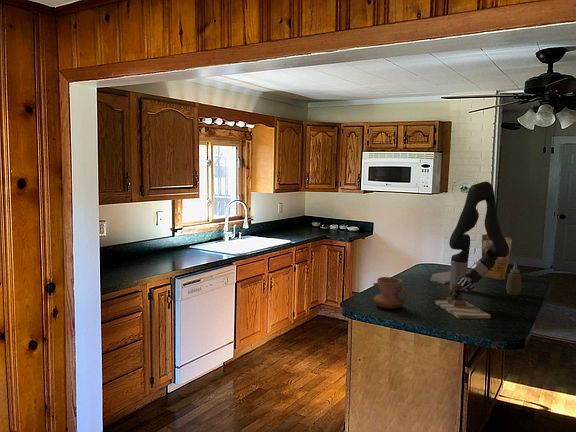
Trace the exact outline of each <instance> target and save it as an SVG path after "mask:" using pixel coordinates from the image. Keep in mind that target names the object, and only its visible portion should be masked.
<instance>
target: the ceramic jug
mask: <svg viewBox="0 0 576 432" xmlns="http://www.w3.org/2000/svg"><path fill="white" fill-rule="evenodd" d="M376 281H377V282H373V283H372V285H373V286H376V287H377V288H378V289H379V293H378V294H377V295H375V296H373V297H372V298H373V299H372V300H373V303H374V304H375V305H376V306H377V307H378V308H381V309H385V310H395V309H400V308H402V306H403V305H404V304H405V301H406V300H407V298H408V296H409V295H408V294H409V292H408V289H406V288H405V287H402V283H403V280H402V279H400V278H397V277H393V276H392V277H391V276H381V277H377V280H376ZM401 291H403V292H404V296H403V299H402V298H401V297H400V296H399V295H398V294H399V293H400V292H401Z"/></svg>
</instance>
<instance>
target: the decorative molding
mask: <svg viewBox="0 0 576 432" xmlns="http://www.w3.org/2000/svg"><path fill="white" fill-rule="evenodd" d="M450 272H451V270H449V271H444V272H443V271H442V272H437V273H432V274H431V277H430V281H431V282H436V283H439V284H442V285H445V284H450Z"/></svg>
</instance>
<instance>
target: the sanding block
mask: <svg viewBox="0 0 576 432" xmlns="http://www.w3.org/2000/svg"><path fill="white" fill-rule="evenodd" d="M460 287H461V285H460V284H452V290H451V291H452V294H450V296H446V299H445V300H446V302H448V303H449V304H451V305H453V306H454V307H466V302H467V301H466V300H463V299H462V297H463V295H462V294H463V293H461V294H460V295H459V296H458V297H457V298H455V297H454V296H453V294H454V293H455V292H456V291H458V290H459V288H460Z"/></svg>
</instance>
